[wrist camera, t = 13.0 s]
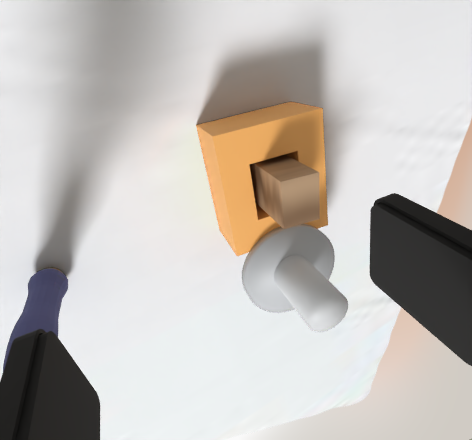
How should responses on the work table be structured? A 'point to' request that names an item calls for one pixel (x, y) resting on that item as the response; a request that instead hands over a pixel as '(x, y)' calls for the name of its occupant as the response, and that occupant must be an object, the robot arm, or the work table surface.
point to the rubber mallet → (41, 304)
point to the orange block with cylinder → (261, 224)
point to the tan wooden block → (286, 190)
